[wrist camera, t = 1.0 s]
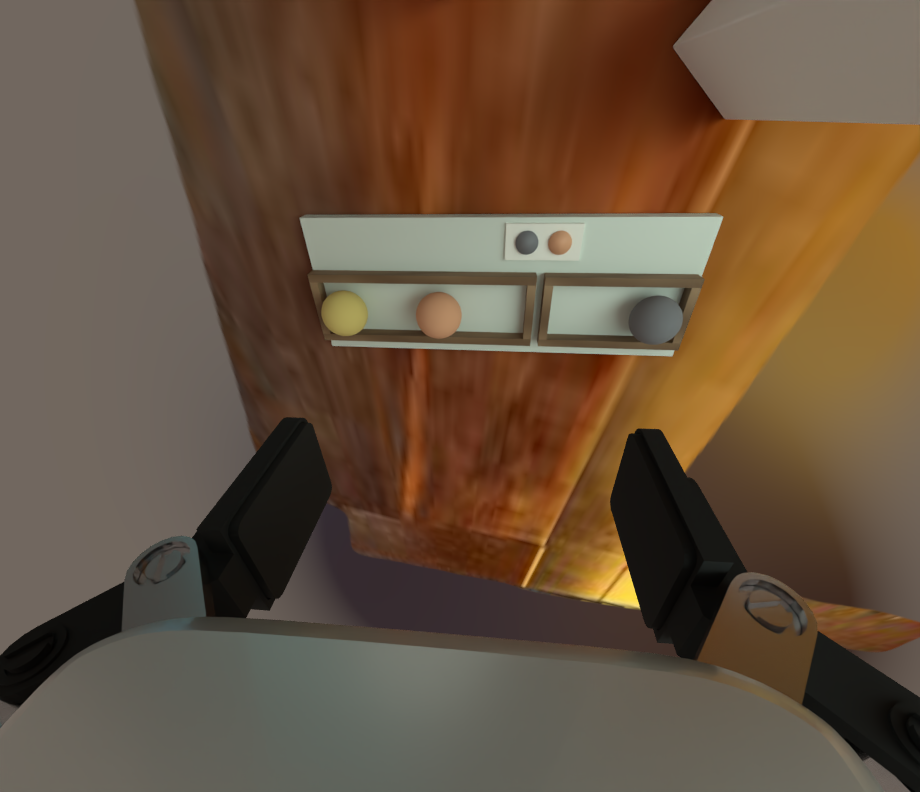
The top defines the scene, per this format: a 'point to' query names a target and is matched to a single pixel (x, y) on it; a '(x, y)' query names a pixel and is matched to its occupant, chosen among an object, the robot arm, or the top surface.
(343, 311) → the ochre ball
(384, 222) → the board
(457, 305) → the terracotta ball
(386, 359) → the top surface
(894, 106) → the milk
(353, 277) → the wooden picture frame
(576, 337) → the wooden rectangular frame
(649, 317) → the charcoal ball
